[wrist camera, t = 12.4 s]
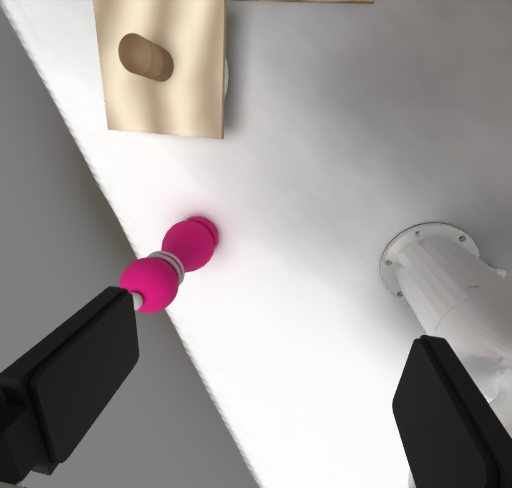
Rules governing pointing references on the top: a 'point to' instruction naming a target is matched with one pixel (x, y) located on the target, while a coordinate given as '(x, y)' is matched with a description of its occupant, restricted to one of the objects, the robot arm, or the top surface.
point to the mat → (330, 0)
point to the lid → (163, 65)
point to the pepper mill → (170, 264)
